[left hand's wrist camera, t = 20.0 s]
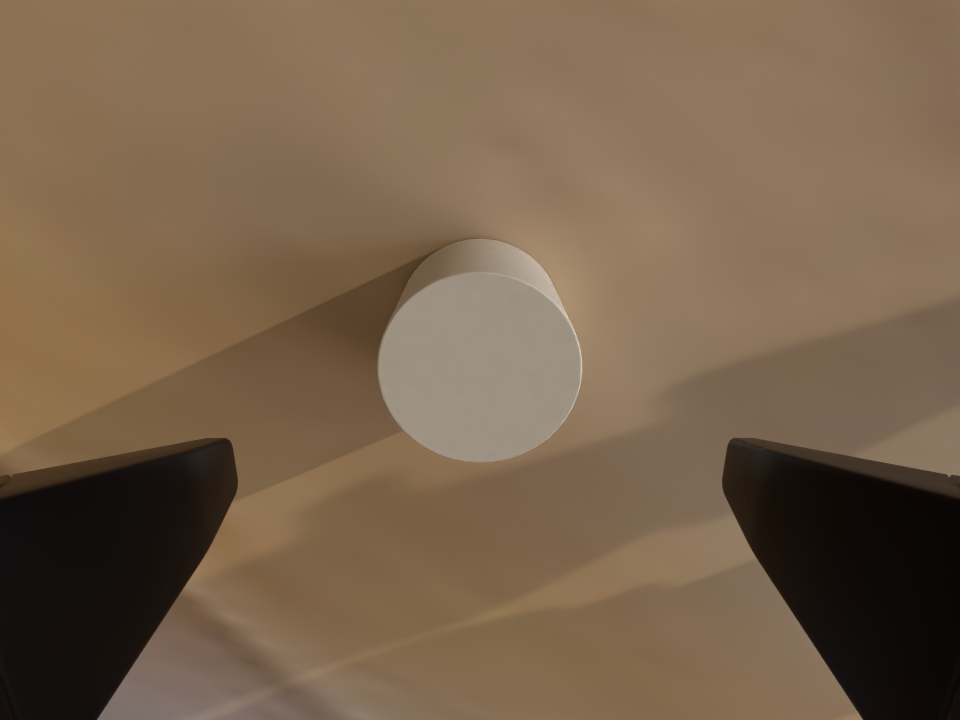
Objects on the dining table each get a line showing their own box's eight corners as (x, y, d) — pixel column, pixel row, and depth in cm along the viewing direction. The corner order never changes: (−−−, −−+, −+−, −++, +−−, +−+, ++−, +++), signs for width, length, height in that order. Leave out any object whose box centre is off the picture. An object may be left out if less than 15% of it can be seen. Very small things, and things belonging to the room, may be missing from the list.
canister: (386, 250, 19) (357, 287, 14) (551, 227, 18) (573, 257, 14) (415, 400, 20) (397, 474, 16) (566, 381, 20) (590, 450, 16)
